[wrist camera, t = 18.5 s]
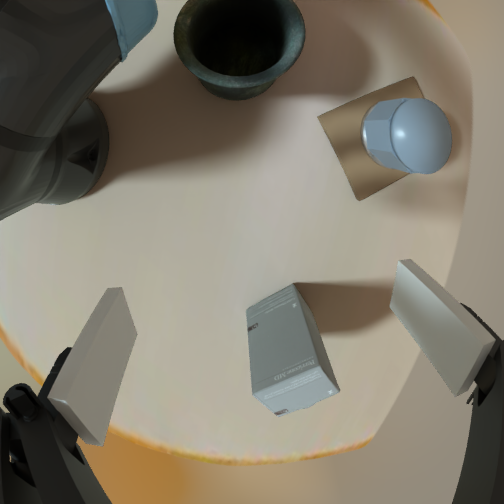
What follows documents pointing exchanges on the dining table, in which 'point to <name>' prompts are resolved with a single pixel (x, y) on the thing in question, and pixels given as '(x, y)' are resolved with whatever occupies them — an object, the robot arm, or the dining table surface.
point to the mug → (239, 43)
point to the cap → (409, 135)
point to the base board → (349, 140)
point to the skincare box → (287, 354)
